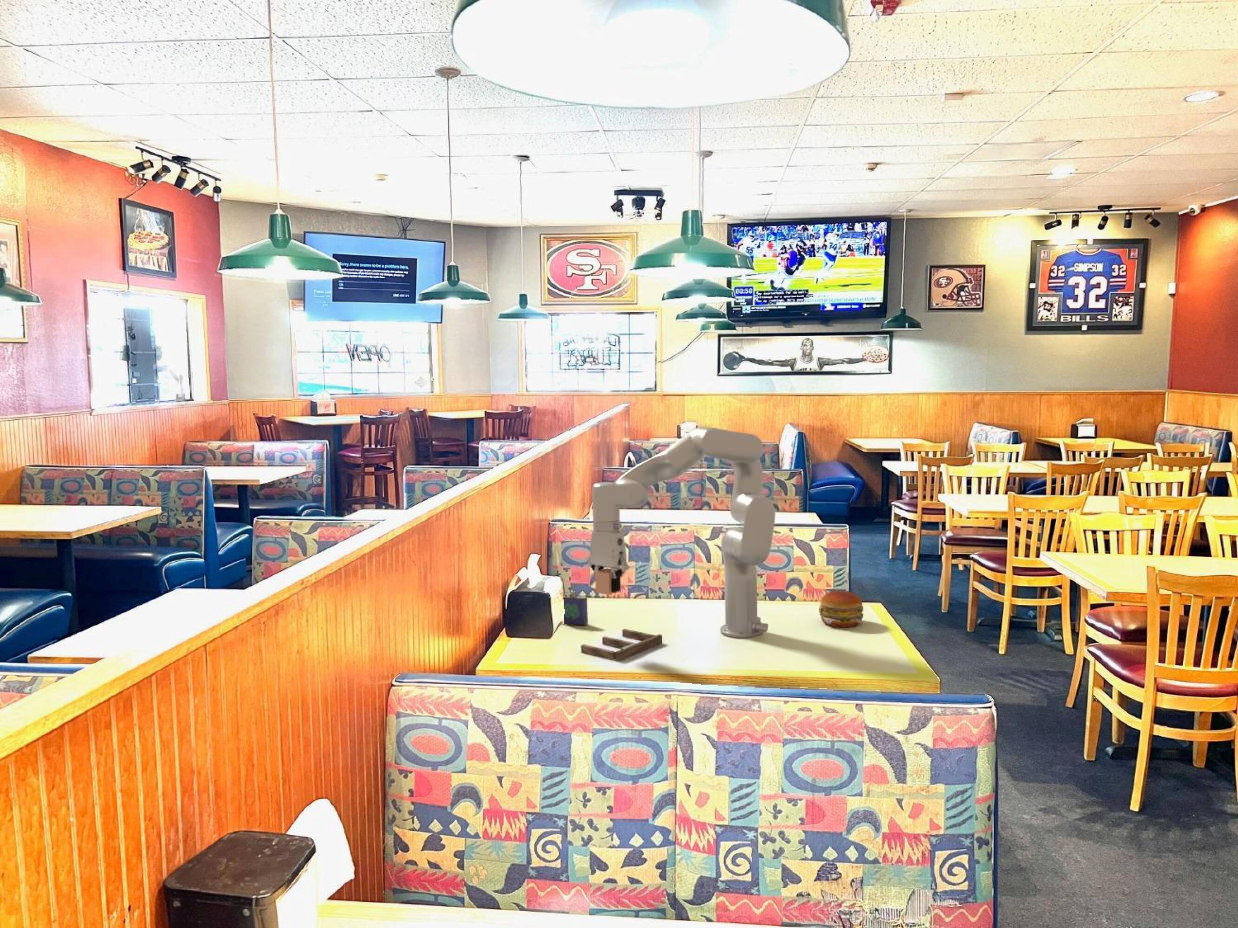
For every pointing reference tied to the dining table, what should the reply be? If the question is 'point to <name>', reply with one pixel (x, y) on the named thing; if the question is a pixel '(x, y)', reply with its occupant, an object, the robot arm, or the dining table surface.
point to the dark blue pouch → (575, 610)
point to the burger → (841, 609)
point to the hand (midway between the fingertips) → (608, 589)
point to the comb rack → (624, 645)
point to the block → (604, 581)
